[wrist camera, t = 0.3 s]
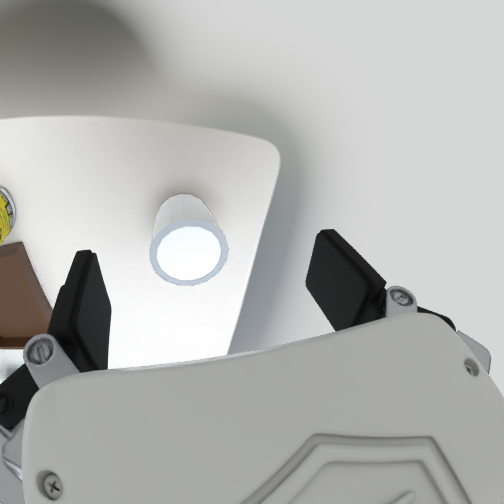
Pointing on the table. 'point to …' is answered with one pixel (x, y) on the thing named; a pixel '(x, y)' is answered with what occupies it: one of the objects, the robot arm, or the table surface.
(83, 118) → the table surface
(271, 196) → the table surface
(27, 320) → the tray
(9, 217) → the pill bottle
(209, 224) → the white cylinder
